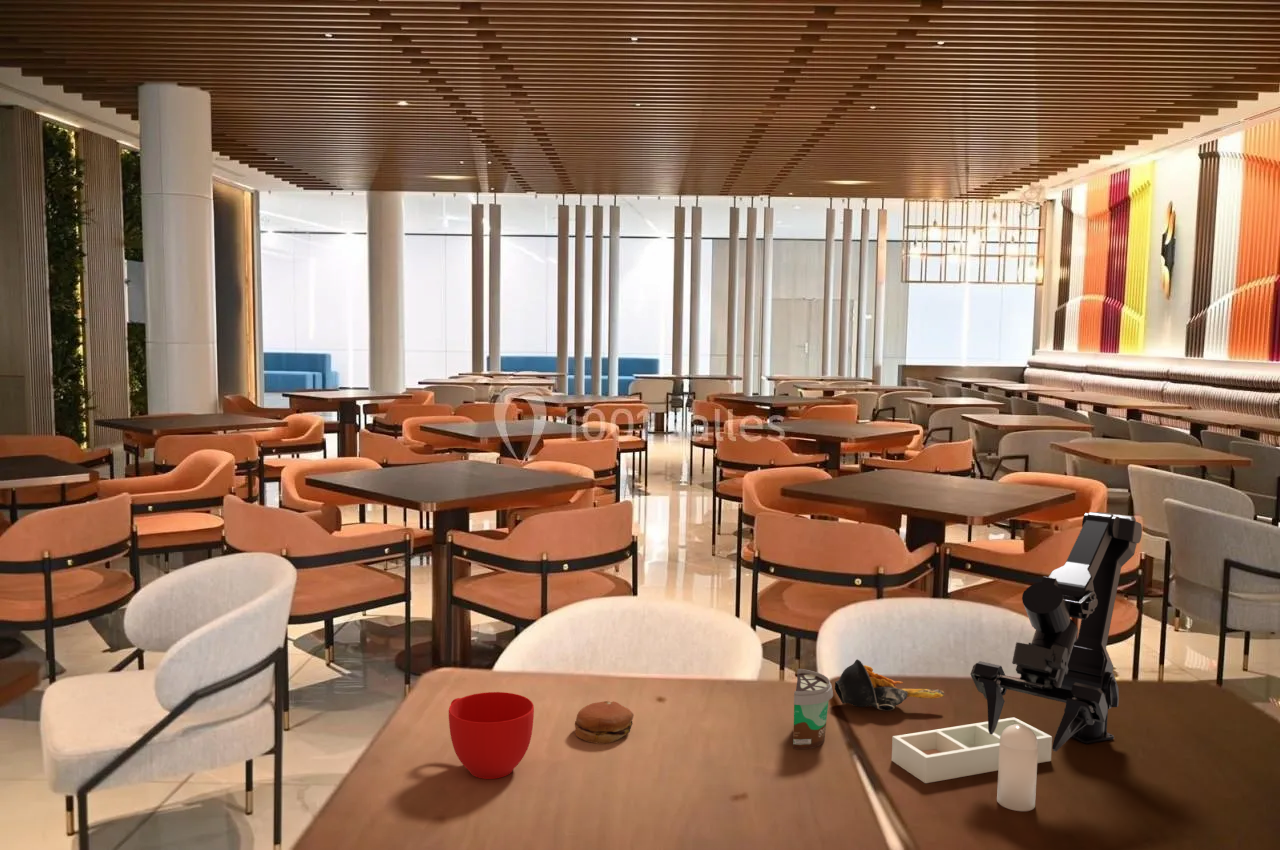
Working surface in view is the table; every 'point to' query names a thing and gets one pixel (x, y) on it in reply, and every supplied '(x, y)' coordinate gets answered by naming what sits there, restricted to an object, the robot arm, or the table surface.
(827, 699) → the food container
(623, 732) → the burger
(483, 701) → the ceramic cup
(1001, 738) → the cream capsule cylinder
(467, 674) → the table surface
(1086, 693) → the robot arm
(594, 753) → the table surface
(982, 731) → the compartment tray
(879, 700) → the fried shrimp in bowl
